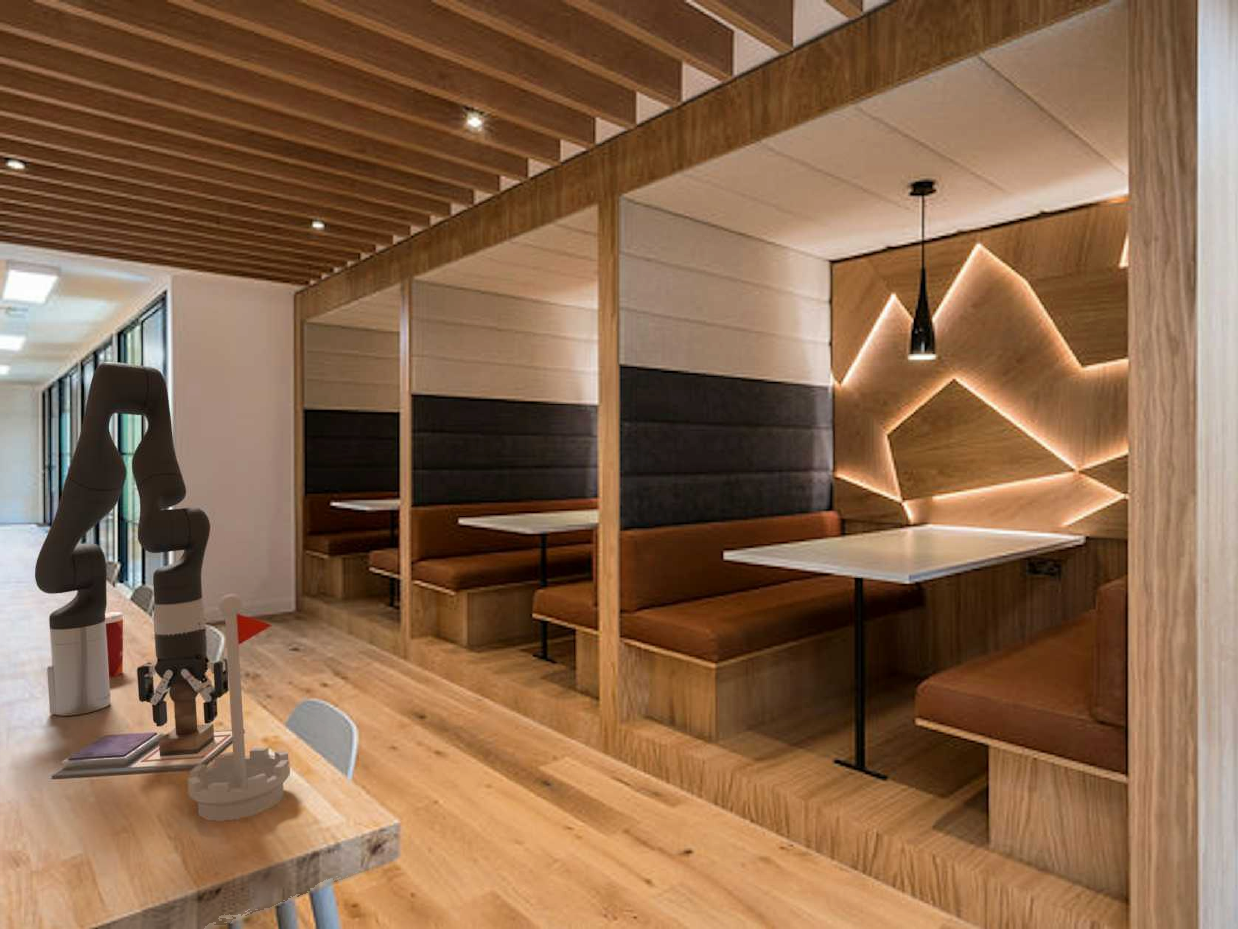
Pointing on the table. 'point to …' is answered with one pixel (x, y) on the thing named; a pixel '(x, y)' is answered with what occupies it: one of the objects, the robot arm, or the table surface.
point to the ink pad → (112, 750)
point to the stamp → (185, 724)
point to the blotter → (157, 760)
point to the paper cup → (114, 642)
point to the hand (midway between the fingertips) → (186, 723)
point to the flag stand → (238, 745)
